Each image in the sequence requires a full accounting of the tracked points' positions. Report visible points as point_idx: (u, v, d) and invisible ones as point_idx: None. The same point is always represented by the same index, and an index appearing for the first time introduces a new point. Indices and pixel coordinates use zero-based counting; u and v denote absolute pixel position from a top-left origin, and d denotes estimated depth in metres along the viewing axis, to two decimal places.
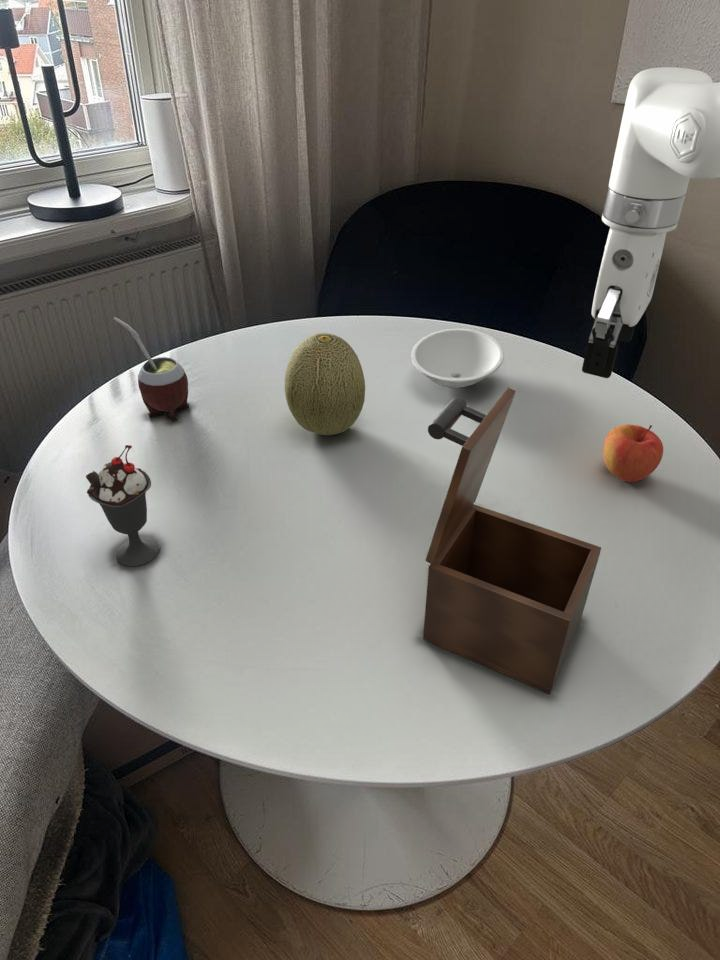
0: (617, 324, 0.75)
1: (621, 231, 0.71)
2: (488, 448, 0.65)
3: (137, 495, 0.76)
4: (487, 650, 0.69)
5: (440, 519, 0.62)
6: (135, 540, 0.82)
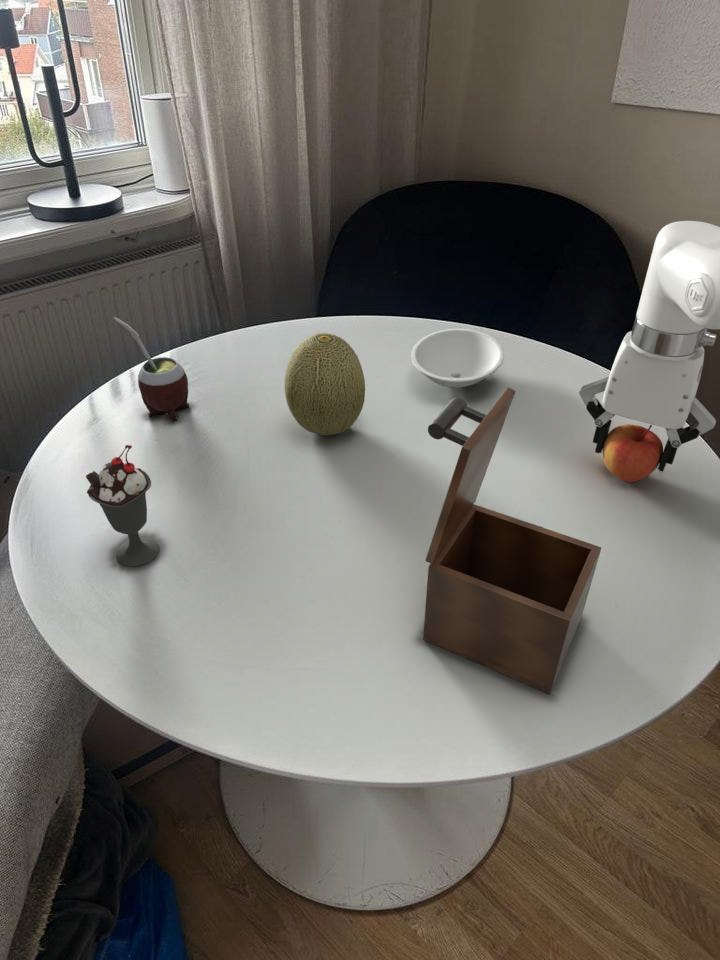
0: None
1: (697, 356, 0.81)
2: (488, 448, 0.65)
3: (137, 495, 0.76)
4: (487, 650, 0.69)
5: (440, 519, 0.62)
6: (135, 540, 0.82)
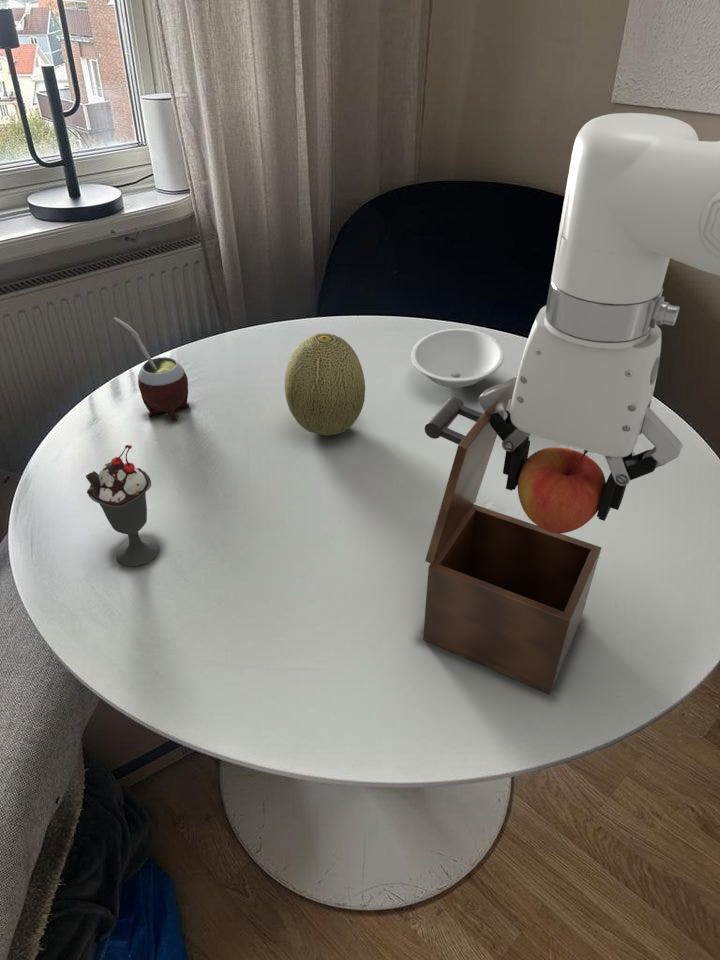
0: None
1: (649, 342, 0.50)
2: (486, 447, 0.65)
3: (137, 495, 0.76)
4: (487, 650, 0.69)
5: (439, 518, 0.62)
6: (135, 540, 0.82)
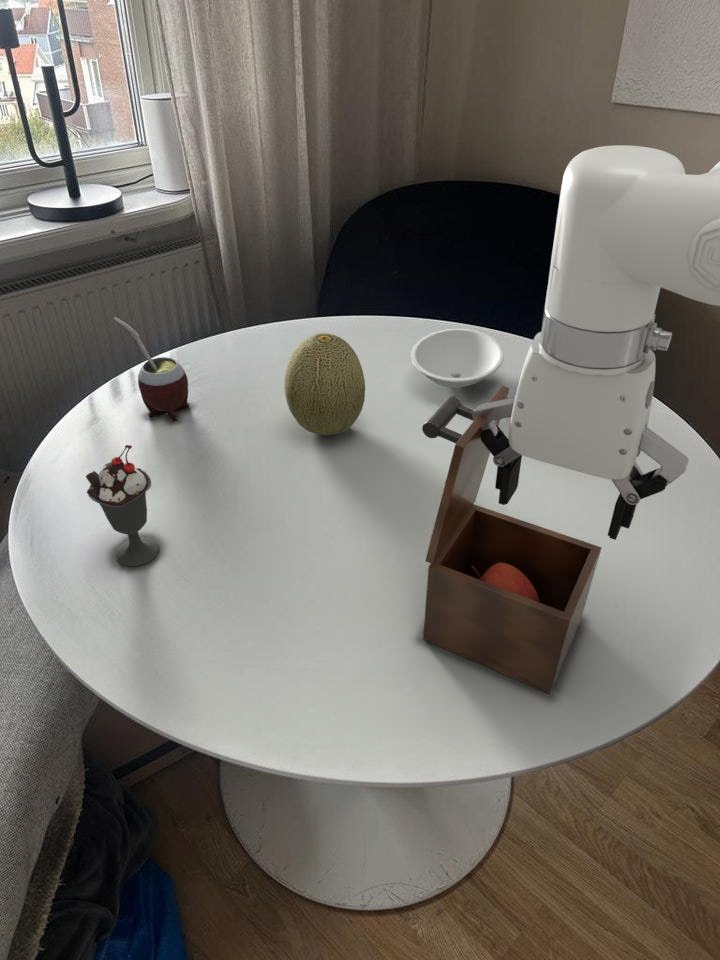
0: (634, 462, 0.57)
1: (643, 367, 0.50)
2: (484, 446, 0.65)
3: (137, 495, 0.76)
4: (487, 650, 0.69)
5: (438, 518, 0.63)
6: (135, 540, 0.82)
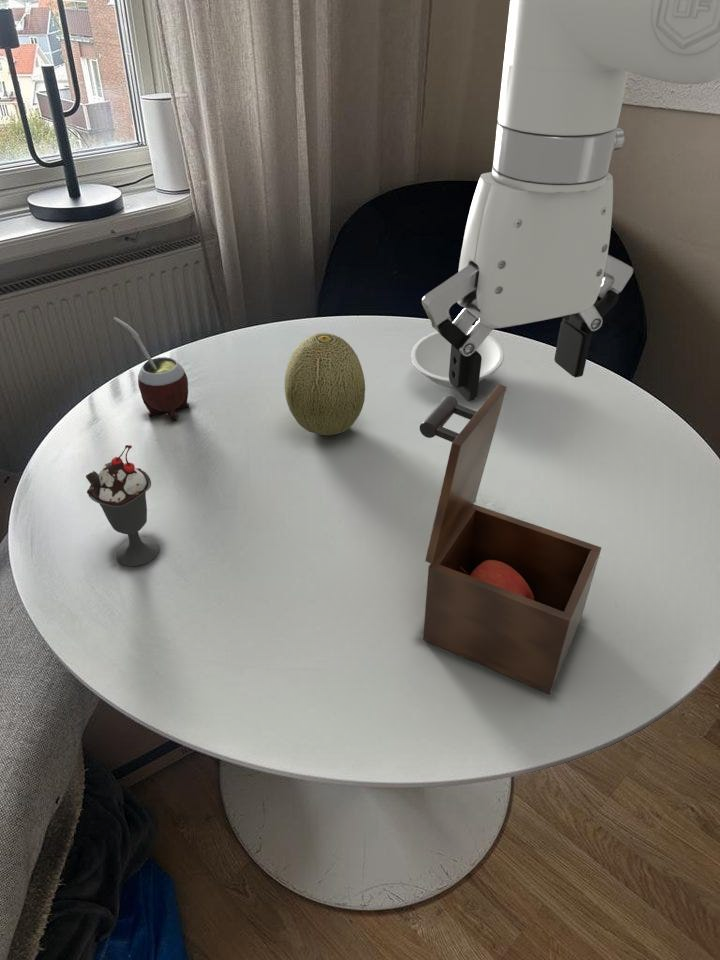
0: None
1: None
2: (482, 445, 0.65)
3: (137, 495, 0.76)
4: (487, 650, 0.69)
5: (436, 517, 0.63)
6: (135, 540, 0.82)
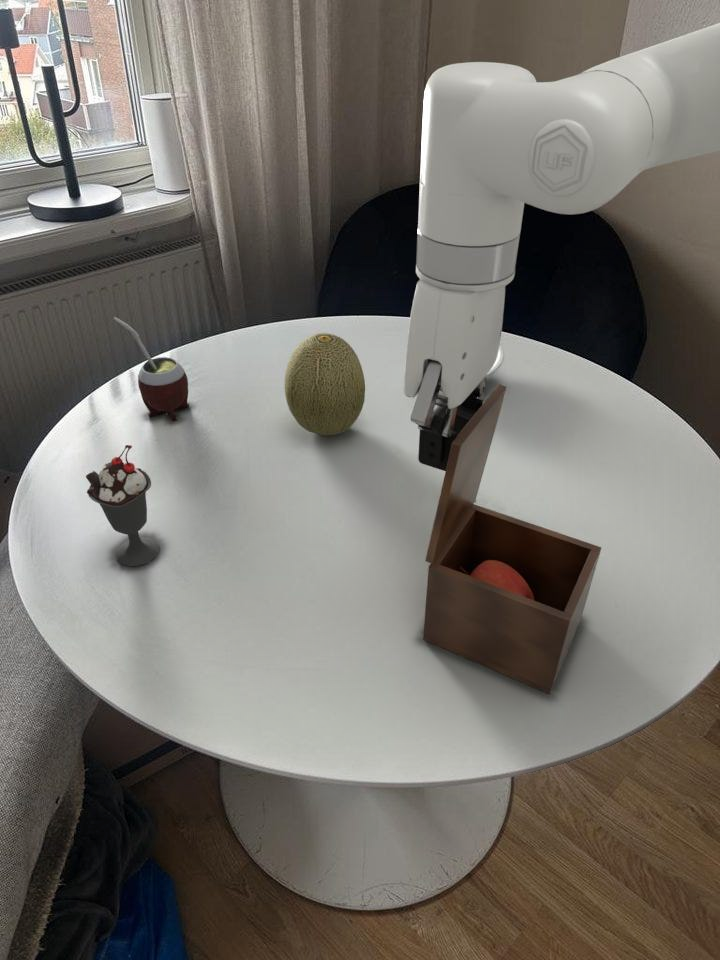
0: None
1: None
2: (482, 445, 0.65)
3: (137, 495, 0.76)
4: (487, 650, 0.69)
5: (436, 517, 0.63)
6: (135, 540, 0.82)
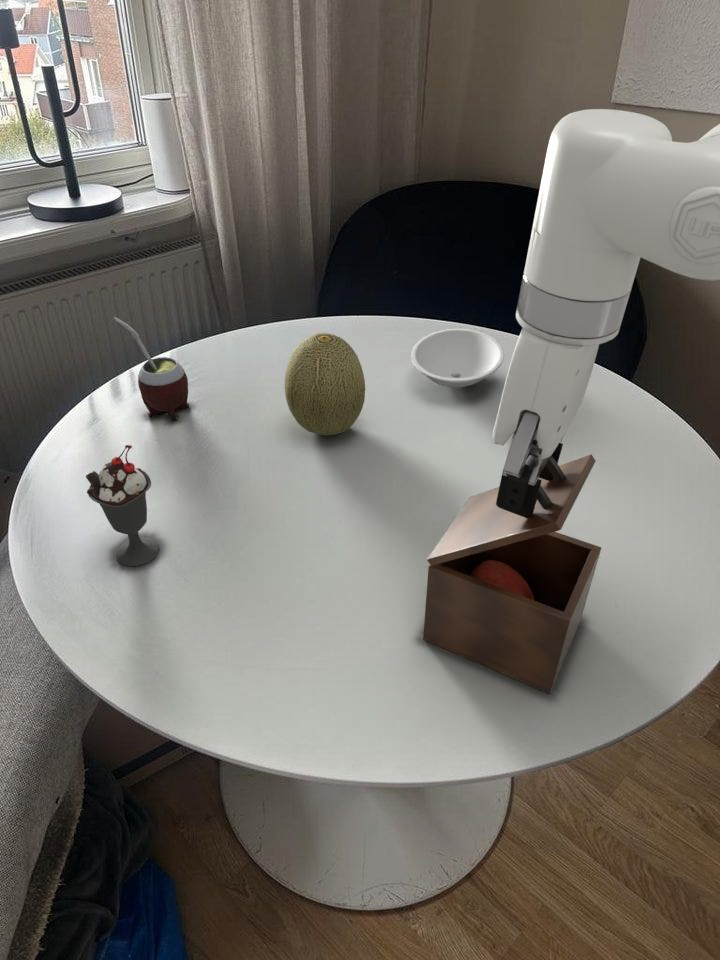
0: None
1: None
2: None
3: (137, 495, 0.76)
4: (487, 650, 0.69)
5: (475, 547, 0.62)
6: (135, 540, 0.82)
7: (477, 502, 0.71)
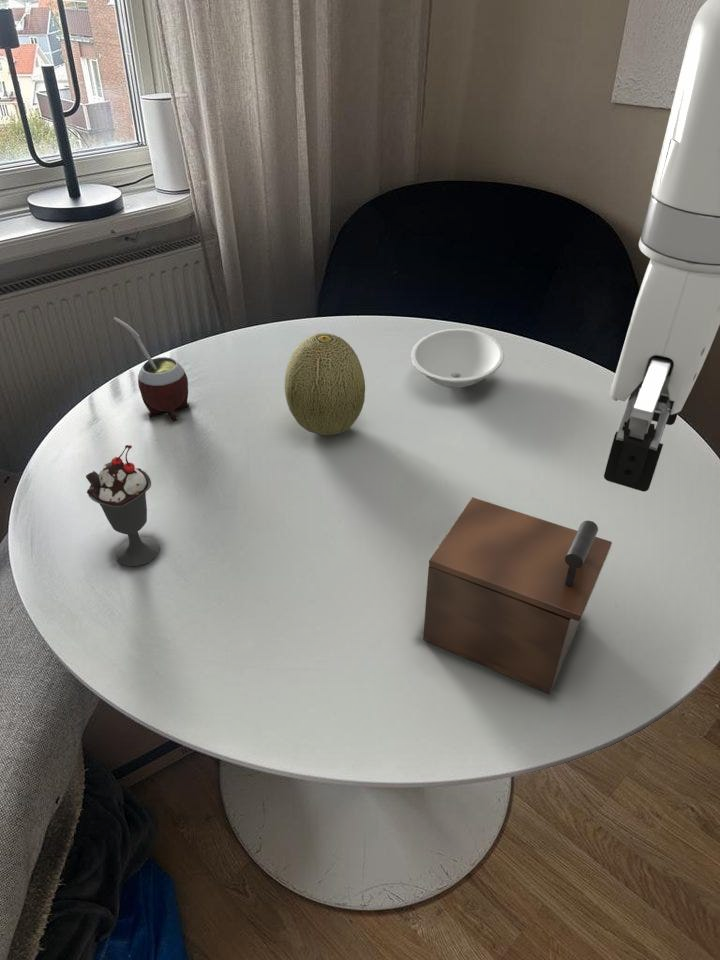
0: None
1: None
2: None
3: (137, 495, 0.76)
4: (487, 650, 0.69)
5: (487, 583, 0.64)
6: (135, 540, 0.82)
7: (482, 512, 0.71)
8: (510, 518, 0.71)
